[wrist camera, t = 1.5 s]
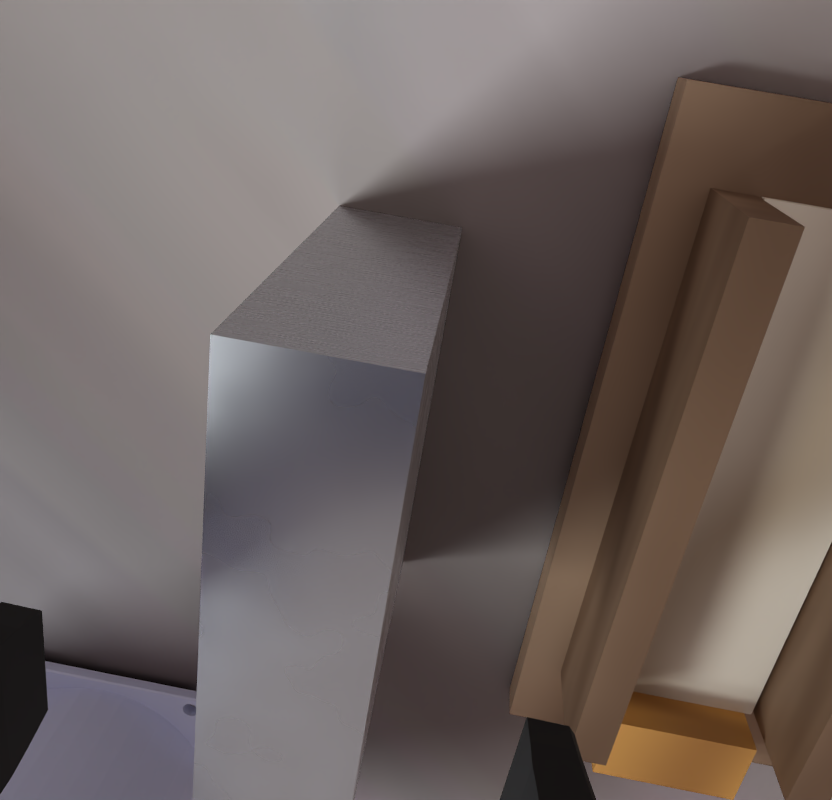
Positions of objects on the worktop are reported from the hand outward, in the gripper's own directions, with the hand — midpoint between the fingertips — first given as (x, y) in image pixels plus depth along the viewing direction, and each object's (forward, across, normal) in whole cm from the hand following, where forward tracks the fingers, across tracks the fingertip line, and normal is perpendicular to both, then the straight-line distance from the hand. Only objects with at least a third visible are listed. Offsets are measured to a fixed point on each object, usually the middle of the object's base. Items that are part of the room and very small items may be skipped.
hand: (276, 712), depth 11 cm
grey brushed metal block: (+11, 0, 0) cm, 11 cm away
